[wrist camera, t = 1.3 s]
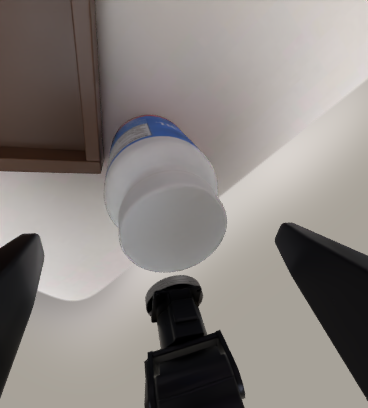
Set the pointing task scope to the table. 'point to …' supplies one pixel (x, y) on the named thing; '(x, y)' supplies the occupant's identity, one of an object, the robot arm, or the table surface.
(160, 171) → the pill bottle
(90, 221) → the table surface
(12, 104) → the tray
